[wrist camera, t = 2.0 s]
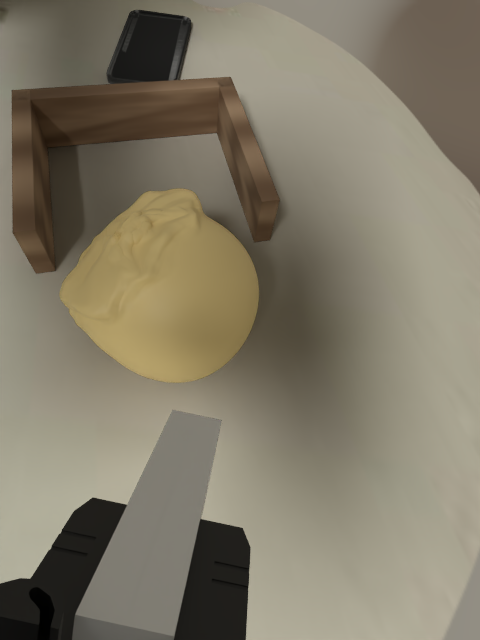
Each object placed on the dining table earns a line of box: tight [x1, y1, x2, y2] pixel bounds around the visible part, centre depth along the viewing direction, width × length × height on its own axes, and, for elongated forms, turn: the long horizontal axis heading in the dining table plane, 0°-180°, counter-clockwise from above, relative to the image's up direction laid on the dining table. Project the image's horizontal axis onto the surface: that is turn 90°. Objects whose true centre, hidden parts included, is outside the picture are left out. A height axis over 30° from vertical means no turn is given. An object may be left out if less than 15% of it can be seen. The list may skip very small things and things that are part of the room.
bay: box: [12, 77, 280, 274], centre depth 38 cm, size 16×20×5 cm
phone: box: [107, 10, 191, 84], centre depth 50 cm, size 8×1×15 cm
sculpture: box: [59, 189, 259, 383], centre depth 28 cm, size 12×12×11 cm
